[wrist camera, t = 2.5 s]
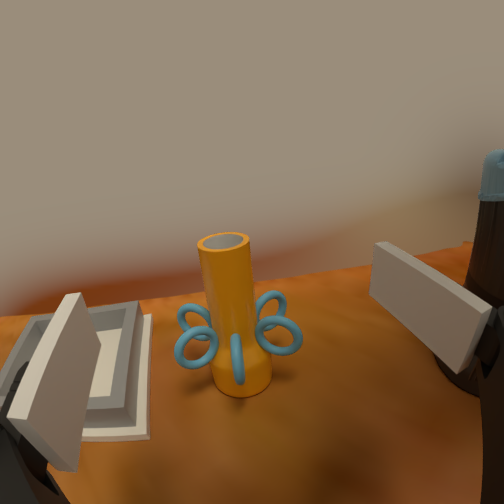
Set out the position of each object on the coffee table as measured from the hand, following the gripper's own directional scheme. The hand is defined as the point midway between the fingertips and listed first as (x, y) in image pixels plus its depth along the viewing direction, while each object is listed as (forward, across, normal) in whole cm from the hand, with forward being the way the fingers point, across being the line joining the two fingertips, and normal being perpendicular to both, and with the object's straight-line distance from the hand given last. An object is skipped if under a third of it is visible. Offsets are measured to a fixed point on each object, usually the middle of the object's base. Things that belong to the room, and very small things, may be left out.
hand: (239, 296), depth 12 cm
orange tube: (+11, +1, -17) cm, 20 cm away
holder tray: (+15, -19, -17) cm, 29 cm away
